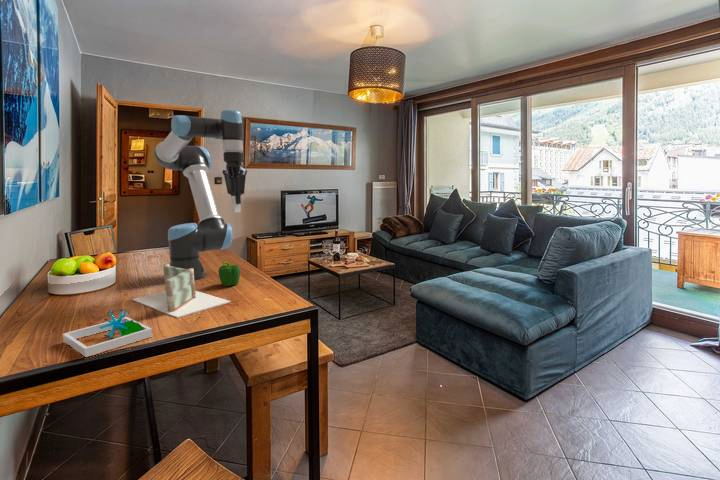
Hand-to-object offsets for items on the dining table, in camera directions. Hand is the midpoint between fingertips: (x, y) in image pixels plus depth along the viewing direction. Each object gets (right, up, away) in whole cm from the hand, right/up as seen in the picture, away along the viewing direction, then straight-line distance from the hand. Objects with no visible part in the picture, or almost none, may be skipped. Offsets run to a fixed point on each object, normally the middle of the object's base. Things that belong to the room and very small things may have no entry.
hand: (236, 212), depth 154 cm
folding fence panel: (-11, -33, -24) cm, 42 cm away
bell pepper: (-4, -30, +3) cm, 30 cm away
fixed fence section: (-17, -31, -12) cm, 38 cm away
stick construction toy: (-16, -38, -47) cm, 62 cm away
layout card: (-14, -33, -18) cm, 40 cm away
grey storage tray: (-18, -38, -51) cm, 66 cm away
